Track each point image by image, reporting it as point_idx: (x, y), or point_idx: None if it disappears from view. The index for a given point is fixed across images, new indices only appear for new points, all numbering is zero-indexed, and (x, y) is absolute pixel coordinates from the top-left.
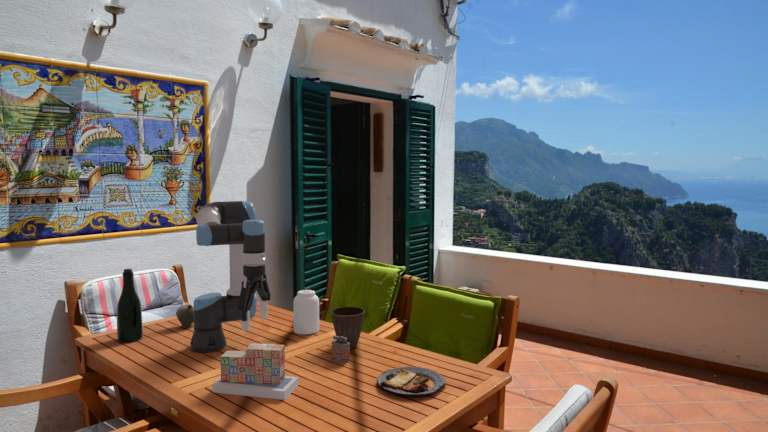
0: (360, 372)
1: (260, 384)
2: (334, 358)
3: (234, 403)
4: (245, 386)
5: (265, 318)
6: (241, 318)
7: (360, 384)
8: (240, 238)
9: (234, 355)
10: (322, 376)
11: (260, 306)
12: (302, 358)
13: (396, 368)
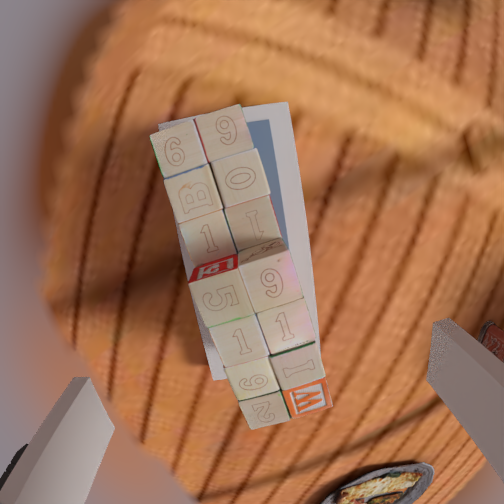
0: (420, 419)
1: None
2: (484, 335)
3: (132, 250)
4: (187, 251)
5: (429, 370)
6: (13, 461)
7: (358, 450)
8: None
9: (191, 193)
10: (387, 368)
11: (501, 396)
12: (485, 244)
13: (425, 466)
